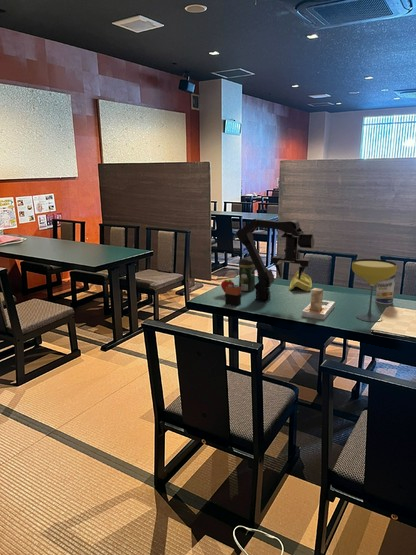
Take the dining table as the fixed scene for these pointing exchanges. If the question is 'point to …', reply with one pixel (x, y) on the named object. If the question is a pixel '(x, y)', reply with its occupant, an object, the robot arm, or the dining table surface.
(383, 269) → the cocktail glass
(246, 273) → the coffee jar
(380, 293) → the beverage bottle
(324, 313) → the white flat box
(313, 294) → the peg
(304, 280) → the plastic component
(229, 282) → the strawberry
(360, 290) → the dining table surface
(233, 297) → the battery
